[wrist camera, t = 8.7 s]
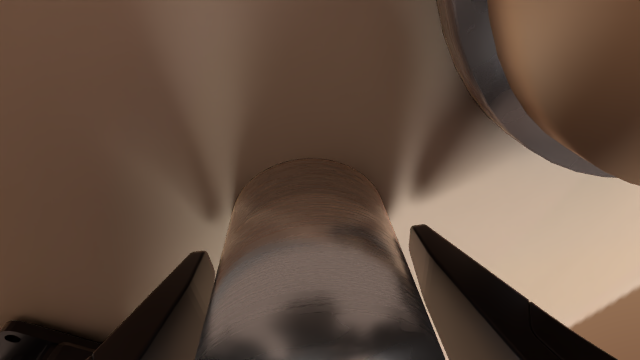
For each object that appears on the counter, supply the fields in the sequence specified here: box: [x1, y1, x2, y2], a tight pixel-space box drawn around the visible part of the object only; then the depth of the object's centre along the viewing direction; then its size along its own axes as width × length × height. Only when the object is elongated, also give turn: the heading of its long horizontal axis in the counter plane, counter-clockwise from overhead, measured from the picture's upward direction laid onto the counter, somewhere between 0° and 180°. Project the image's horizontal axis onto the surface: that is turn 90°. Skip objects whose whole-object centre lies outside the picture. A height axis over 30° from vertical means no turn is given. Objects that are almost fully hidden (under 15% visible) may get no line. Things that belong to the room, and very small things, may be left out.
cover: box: [195, 158, 445, 360], centre depth 8 cm, size 5×5×5 cm
